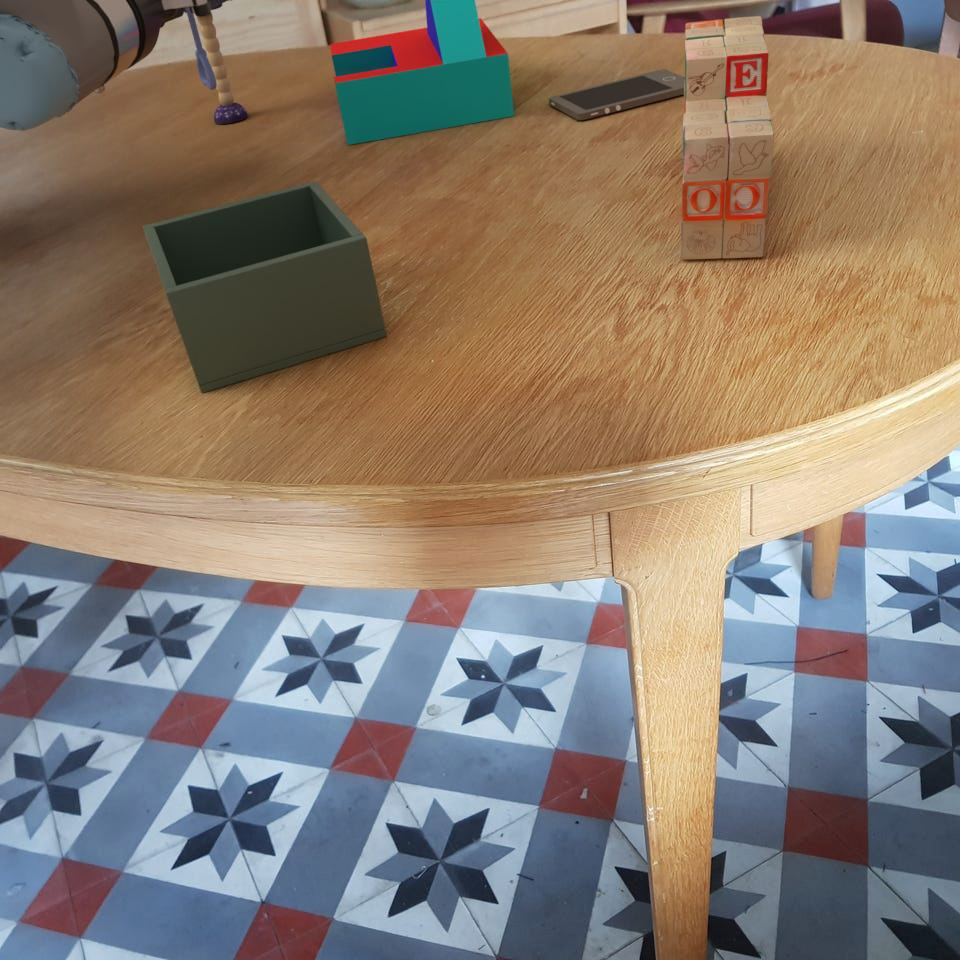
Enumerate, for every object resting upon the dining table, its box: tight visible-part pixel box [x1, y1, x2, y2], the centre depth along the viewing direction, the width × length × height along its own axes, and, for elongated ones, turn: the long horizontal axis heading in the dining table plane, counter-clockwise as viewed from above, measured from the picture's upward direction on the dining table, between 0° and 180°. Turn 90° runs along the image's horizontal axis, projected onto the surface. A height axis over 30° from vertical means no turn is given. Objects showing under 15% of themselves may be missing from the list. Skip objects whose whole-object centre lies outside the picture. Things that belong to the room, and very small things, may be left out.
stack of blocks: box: [680, 15, 775, 260], centre depth 76 cm, size 21×6×12 cm, turn 169°
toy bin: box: [142, 180, 388, 394], centre depth 70 cm, size 14×14×8 cm
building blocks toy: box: [329, 0, 515, 146], centre depth 110 cm, size 19×25×18 cm
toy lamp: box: [184, 3, 249, 125], centre depth 114 cm, size 5×5×17 cm
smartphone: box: [548, 68, 685, 121], centre depth 105 cm, size 15×8×1 cm, turn 111°
